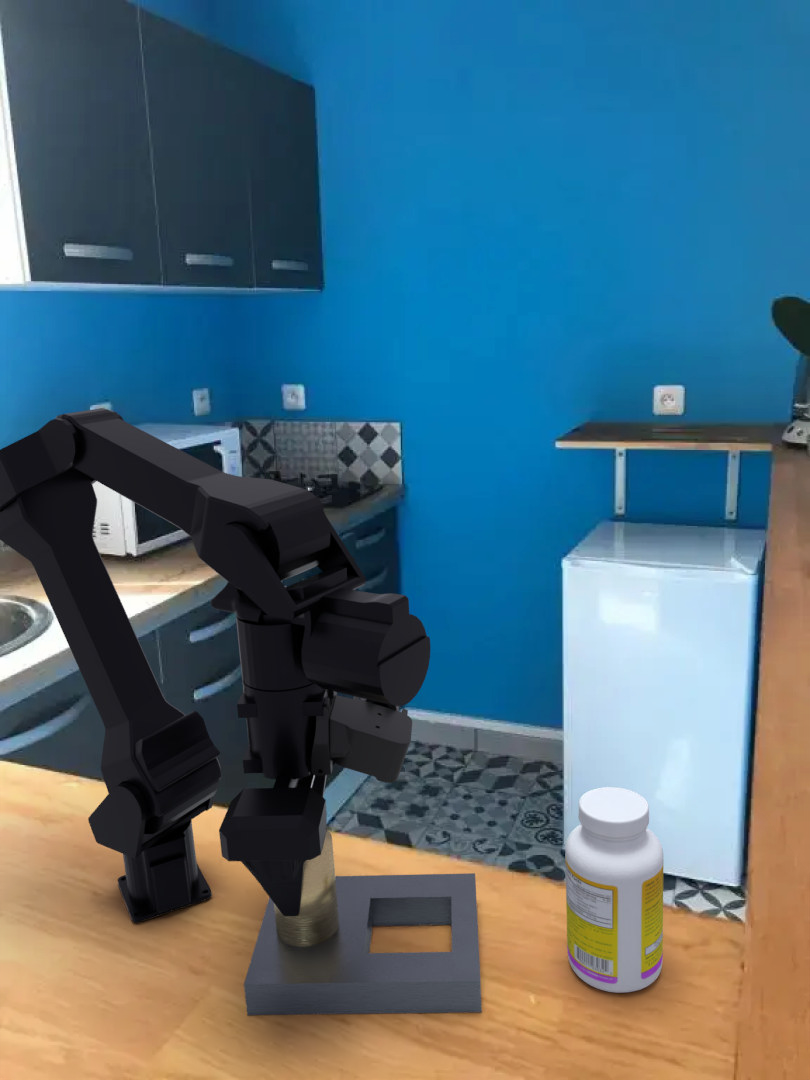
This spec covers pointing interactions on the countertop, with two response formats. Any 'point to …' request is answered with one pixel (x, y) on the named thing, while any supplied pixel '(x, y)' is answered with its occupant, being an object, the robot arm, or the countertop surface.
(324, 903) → the bushing
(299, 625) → the robot arm
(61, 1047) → the countertop surface
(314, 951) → the jig
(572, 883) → the supplement bottle
